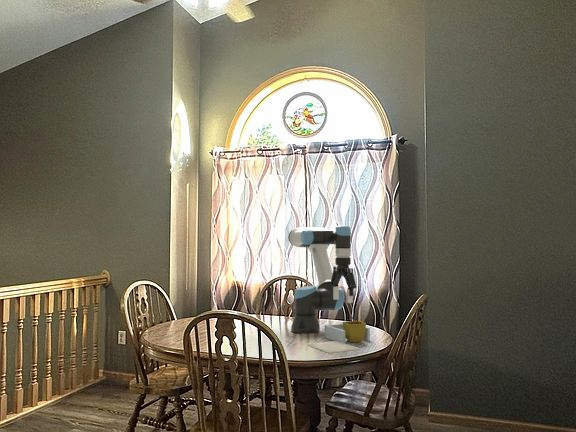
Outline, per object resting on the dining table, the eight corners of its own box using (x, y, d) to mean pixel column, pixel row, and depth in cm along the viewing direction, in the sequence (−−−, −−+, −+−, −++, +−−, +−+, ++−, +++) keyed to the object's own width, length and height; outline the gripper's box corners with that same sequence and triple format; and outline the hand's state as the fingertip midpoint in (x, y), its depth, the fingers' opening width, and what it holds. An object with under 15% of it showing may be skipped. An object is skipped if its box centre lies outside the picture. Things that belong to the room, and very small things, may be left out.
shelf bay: (324, 337, 260) (324, 325, 260) (350, 334, 268) (350, 322, 268) (343, 343, 246) (343, 330, 246) (369, 340, 254) (369, 328, 254)
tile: (307, 345, 243) (307, 344, 243) (336, 341, 250) (336, 340, 250) (329, 353, 227) (329, 352, 227) (359, 349, 235) (359, 348, 235)
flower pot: (349, 343, 246) (349, 324, 246) (342, 340, 255) (342, 321, 255) (366, 342, 249) (366, 323, 249) (359, 339, 257) (359, 320, 257)
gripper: (323, 255, 270) (323, 298, 269) (350, 258, 249) (350, 304, 248) (335, 255, 273) (335, 297, 273) (363, 258, 252) (363, 303, 252)
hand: (343, 301), depth 260 cm, fingers open, 11 cm apart
